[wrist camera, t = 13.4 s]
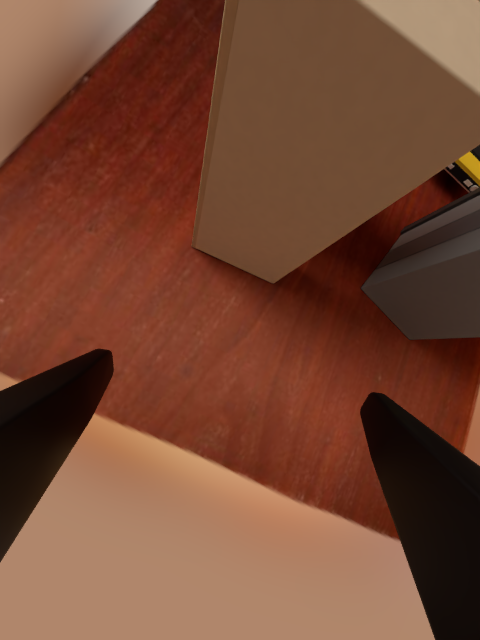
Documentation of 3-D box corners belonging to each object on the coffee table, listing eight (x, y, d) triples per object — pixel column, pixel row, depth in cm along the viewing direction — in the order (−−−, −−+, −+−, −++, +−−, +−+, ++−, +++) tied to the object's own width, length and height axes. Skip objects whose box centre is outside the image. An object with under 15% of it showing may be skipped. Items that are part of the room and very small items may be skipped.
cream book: (273, 284, 19) (516, 121, 5) (191, 246, 17) (238, -96, 4) (282, 256, 19) (528, 42, 6) (204, 217, 18) (283, -174, 4)
